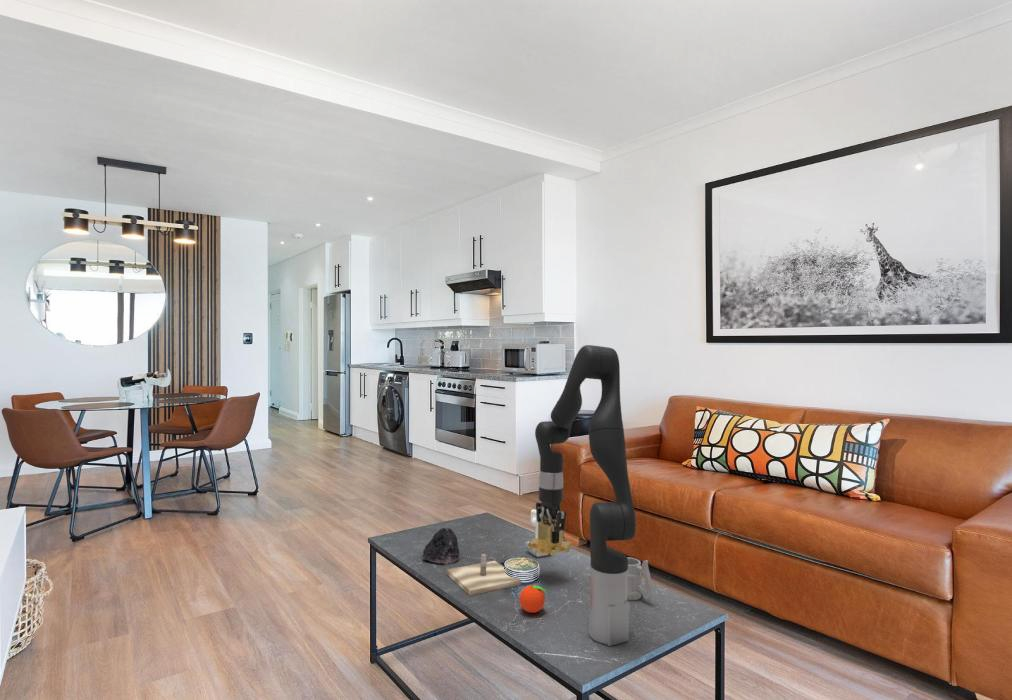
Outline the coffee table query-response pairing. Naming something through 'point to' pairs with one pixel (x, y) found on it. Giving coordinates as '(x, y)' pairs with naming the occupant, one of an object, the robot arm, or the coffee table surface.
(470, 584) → the carrier plate
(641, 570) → the mug
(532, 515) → the figurine
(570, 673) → the coffee table surface
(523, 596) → the clementine
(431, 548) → the black rock
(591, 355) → the robot arm
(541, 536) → the gear
